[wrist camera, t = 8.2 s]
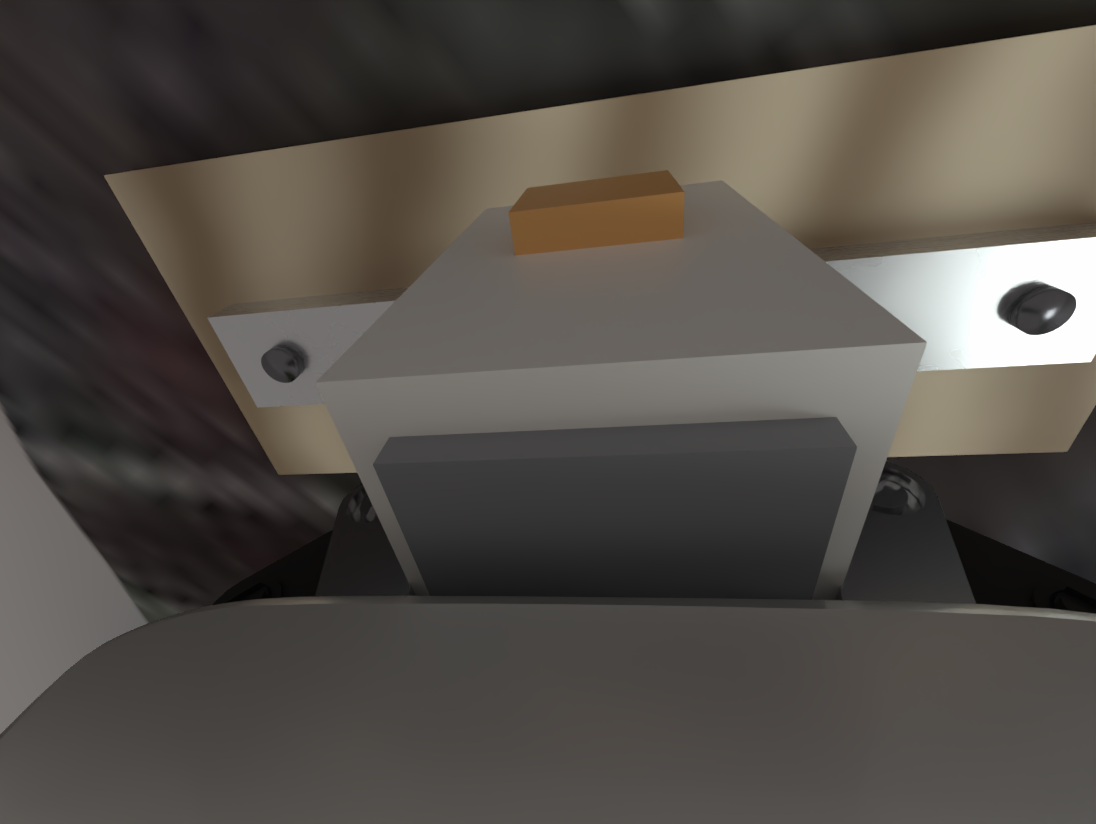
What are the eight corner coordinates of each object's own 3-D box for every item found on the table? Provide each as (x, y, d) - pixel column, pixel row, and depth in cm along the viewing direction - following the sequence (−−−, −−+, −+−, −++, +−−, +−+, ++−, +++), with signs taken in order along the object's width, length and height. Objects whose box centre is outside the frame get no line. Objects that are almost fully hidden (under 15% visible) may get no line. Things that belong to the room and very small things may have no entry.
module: (724, 147, 9) (996, 282, 3) (700, 486, 14) (780, 813, 8) (480, 179, 10) (257, 342, 4) (538, 490, 15) (490, 791, 9)
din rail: (1120, 219, 12) (1181, 235, 11) (1056, 342, 14) (1103, 368, 13) (231, 303, 16) (198, 323, 15) (276, 390, 18) (250, 413, 17)
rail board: (1291, -6, 10) (1349, -13, 10) (1044, 434, 17) (1066, 451, 16) (131, 170, 15) (103, 175, 14) (291, 460, 22) (278, 474, 21)
